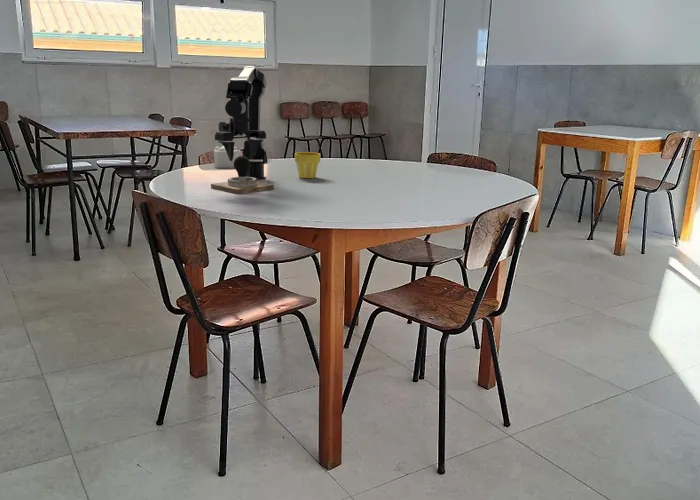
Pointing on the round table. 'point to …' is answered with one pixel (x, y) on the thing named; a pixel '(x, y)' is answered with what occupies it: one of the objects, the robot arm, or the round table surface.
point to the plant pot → (307, 164)
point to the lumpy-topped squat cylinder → (223, 158)
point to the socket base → (240, 189)
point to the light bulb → (242, 167)
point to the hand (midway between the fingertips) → (241, 160)
